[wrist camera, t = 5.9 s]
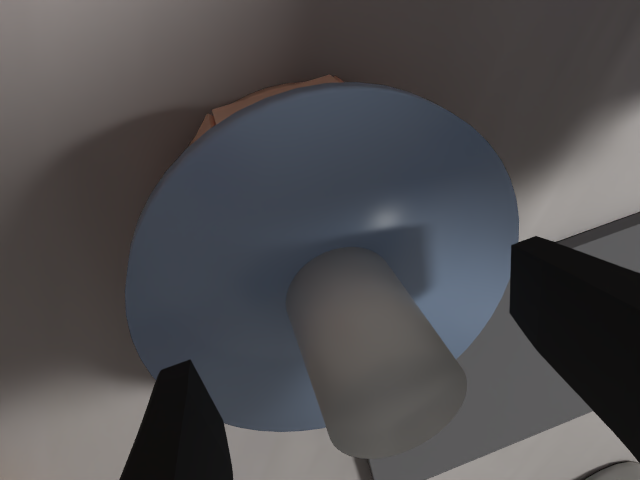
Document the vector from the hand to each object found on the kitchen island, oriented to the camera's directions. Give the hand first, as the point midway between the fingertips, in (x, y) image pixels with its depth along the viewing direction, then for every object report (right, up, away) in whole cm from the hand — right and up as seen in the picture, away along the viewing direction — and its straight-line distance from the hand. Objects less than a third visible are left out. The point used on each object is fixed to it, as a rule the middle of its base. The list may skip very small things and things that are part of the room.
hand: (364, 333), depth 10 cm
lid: (-1, +1, +2) cm, 3 cm away
